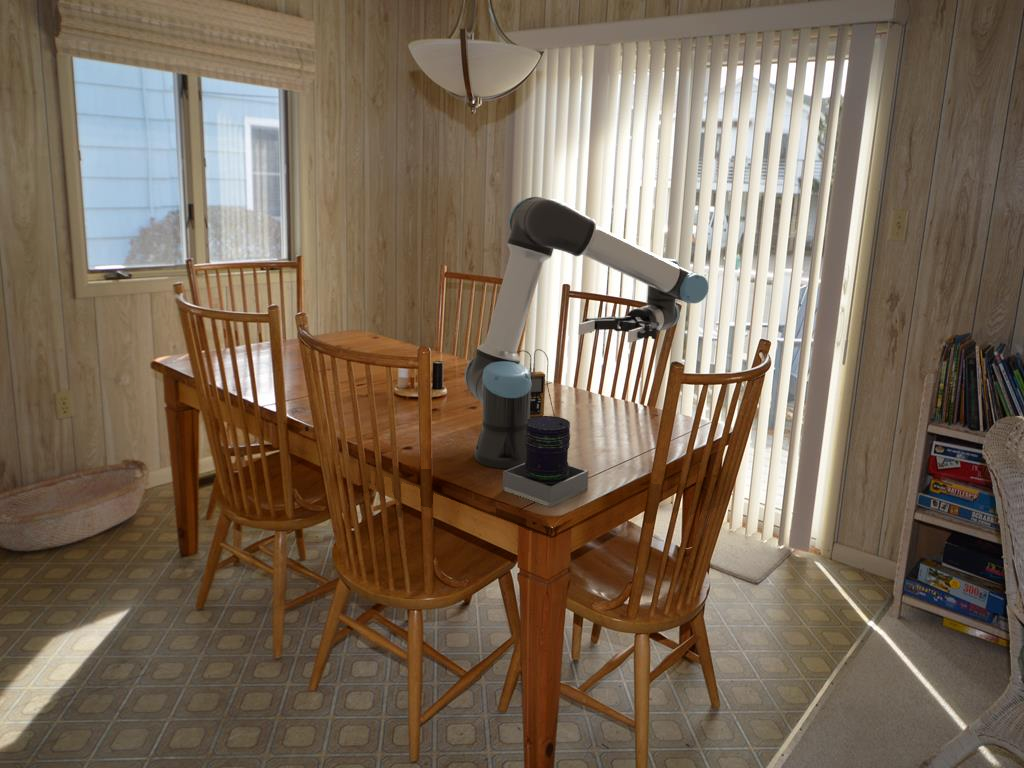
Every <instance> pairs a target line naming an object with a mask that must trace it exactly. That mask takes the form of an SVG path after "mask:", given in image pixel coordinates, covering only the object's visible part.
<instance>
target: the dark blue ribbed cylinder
mask: <svg viewBox="0 0 1024 768" xmlns="http://www.w3.org/2000/svg"><path fill="white" fill-rule="evenodd" d="M526 426H527V427H526V433H525V434H526V435H525V438H526V441H525V444H526V447H527V454H526V461H525V465H524V466H525V470H524V475H525V478H527V479H530V480H533V481H536V482H539V483H542V484H545V485H548V486H553V485H555V484H558V483H560V482H562V481H564V480H567V479H568V469H569V465H570V464H569V461H568V455H569V453H568V452H569V451H568V450H569V448H570V445H571V444H570V443H571V442H570V441H571V440H570V439H571V433H570V429H571V422H570V421H569V420H568V419H567V418H563V417H560V416H555V417H554V415H553V416H552V415H543V416H535V417H530V419H528V420H527V421H526Z"/></svg>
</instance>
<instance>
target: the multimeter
mask: <svg viewBox="0 0 1024 768" xmlns="http://www.w3.org/2000/svg"><path fill="white" fill-rule="evenodd" d="M537 351H541V352H542V353H543V354H545V357H546V360H547V361H546V362H547V366H546V374H545V373H544V372H543V371H536V367H535V366H536V362H535V361H536V359H535V358H536V352H537ZM521 352H525V353H527V354H528V355H529V356H530V362H529V369H528V370H529V372H530V376H531V393H530V418H533V417H538V416H545V398H546V396H545V391H546V390H545V389H546V387H547V392H548V397H549V400H550V405H551V409H552V410H551V411H552V413H553V416H554V417H556V415H555V412H554V406H553V403H552V398H551V394H550V389H549V384H548V375H549V374H548V373H549V358H548V355H547V353H546V352H545V351H544V350H542V349H540V348H539V349H535V351H534V353H533V364H532V355H531V354H530V352H528V351H527V350H519V351H517V354H518V353H521Z"/></svg>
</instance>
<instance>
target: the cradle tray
mask: <svg viewBox="0 0 1024 768" xmlns="http://www.w3.org/2000/svg"><path fill="white" fill-rule="evenodd" d="M524 465H525V463H523V464H521V465H518V466H516V467H513V468H507V469H506V470H502V491H503V492H505V493H506V492H507V493H510V494H512V493H513V495H515V496H517V495H518V497H520V496H521V497H520V498H523V497H524V498H523V499H526V498H527V499H526V500H528V499H530V500H529V501H531V500H532V501H531V502H534V501H535V503H537V502H538V504H539V503H540V505H542V504H543V506H545V505H546V507H548V508H552V507H554V505H555V506H557V505H558V504H561V503H563V502H565V501H567V500H569V499H572V498H573V497H575V496H577V495H580V494H582V493H583V492H586V491H588V489H589V487H588V486H589V470H586V469H583V468H580V467H576V466H575V465H570V464H569V469H568V479H567V480H564V481H562V482H560V483H558V484H555V485H553V486H548V485H545V484H542V483H539V482H536V481H533V480H530V479H527V478H525V475H524V470H525V466H524Z"/></svg>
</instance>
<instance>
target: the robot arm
mask: <svg viewBox="0 0 1024 768" xmlns="http://www.w3.org/2000/svg"><path fill="white" fill-rule="evenodd" d="M508 219H509V220H508V226H509V230H510V232H509V237H508V241H507V244H506V245H507V247H508V249H509V250H510V254H509V258H508V262H507V265H506V268H505V272H504V276H503V279H502V283H501V285H500V289H499V293H498V297H497V299H496V303H495V307H494V310H493V313H492V317H491V321H490V323H489V327H488V332H487V335H486V337H485V341H484V343H481V344H480V345H478V346H477V347H476V351H475V355H474V357H473V358H471V359H470V361H469V362H468V364H467V365H466V368H465V371H464V381H465V385H466V387H467V389H468V391H469V393H470V394H471V396H473V397H474V398H475V399H477V400H478V401H479V402H480V403H481V405H482V417H481V418H482V419H481V421H482V426H481V427H482V428H481V431H480V433H479V437H478V439H477V443H476V445H475V448H474V459H475V460H476V461H475V462H478V463H479V464H481V465H483V466H486V467H491V468H493V469H494V468H496V469H511V468H513V467H516V466H518V465H521V464H523V463H525V461H526V454H527V447H526V444H525V441H526V438H525V435H526V434H525V433H526V427H527V426H526V421H527V420H528V419H530V418H531V417H530V393H531V376H530V372H529V370H530V369H528V367H526V366H525V365H523V364H520V362H521V357H520V355H519V354H518V353H517V352H518V349H519V345H520V342H521V338H522V336H523V333H524V329H525V326H526V325H525V324H526V322H527V317H528V315H529V312H530V308H531V305H532V302H533V297H534V295H535V292H536V288H537V285H538V282H539V277H540V275H541V272H542V268H543V264H544V262H546V261H547V260H549V259H551V258H552V255H553V252H554V250H557V251H561V252H566V253H568V254H570V255H571V256H572V255H573V256H575V257H580V256H584V257H586V258H589V259H591V260H593V261H595V262H598V263H600V264H601V265H603V266H606V267H609V268H610V269H613V270H614V271H617V272H619V273H621V274H623V275H626V276H628V277H630V278H632V279H633V280H636V281H639V282H641V283H642V284H645V285H647V287H648V288H647V301H646V305H644V306H641V307H637V308H634V309H631V310H630V311H629V312H628V313H627V314H626V315H624V316H619V317H618V316H615V315H610V316H602V317H601V316H600V317H590V318H589V317H586V318H584V321H583V322H580V323H578V335H579V336H583V335H585V334H588V333H589V334H591V333H593V332H595V331H599V330H600V331H603V330H604V331H606V330H613V331H616V332H625V333H627V343H633V342H637V341H640V340H642V339H649V338H651V339H652V340H657V338H658V337H657V336H658V333H659V332H662V331H666V330H669V329H670V328H672V327H673V326H675V325H676V324H677V323H678V322H679V320H680V317H681V312H680V308H679V306H678V305H677V304H676V300H679V301H682V302H684V303H686V304H698V303H701V302H702V301H703V300H705V299H706V297H707V294H708V293H709V282H708V280H707V278H706V277H705V276H703V275H702V274H699V273H698V272H692V271H690V270H687V269H685V268H683V267H682V266H679V262H678V260H677V259H674V258H668V257H667V258H664V257H661V256H659V255H657V254H655V253H654V252H651V251H649V250H646V249H644V248H642V247H640V246H639V245H637V244H634V243H632V242H630V241H628V240H626V239H624V238H622V237H621V236H618V235H616V234H614V233H612V232H610V231H608V230H605V229H604V228H602V227H600V226H598V225H596V220H595V219H593V218H591V217H589V216H587V215H586V214H583V213H582V212H580V211H578V210H576V209H575V208H574V207H571V206H570V205H568V204H567V203H566V202H563V201H561V200H559V199H556V198H547V197H542V196H530V197H527V198H524V199H522V200H520V201H519V202H517V203H516V204H515V205H514V206H513V208H512V210H511V211H510V214H509V218H508Z"/></svg>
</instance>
